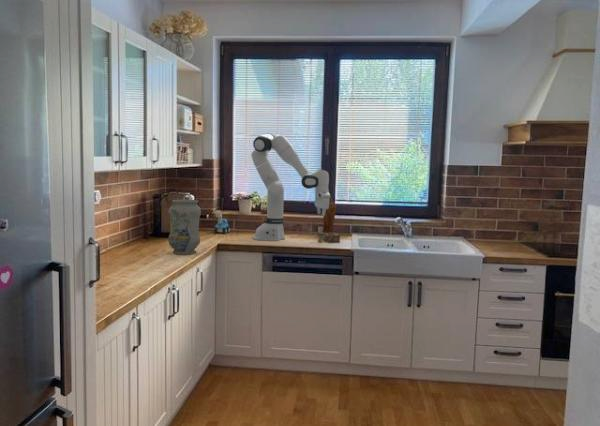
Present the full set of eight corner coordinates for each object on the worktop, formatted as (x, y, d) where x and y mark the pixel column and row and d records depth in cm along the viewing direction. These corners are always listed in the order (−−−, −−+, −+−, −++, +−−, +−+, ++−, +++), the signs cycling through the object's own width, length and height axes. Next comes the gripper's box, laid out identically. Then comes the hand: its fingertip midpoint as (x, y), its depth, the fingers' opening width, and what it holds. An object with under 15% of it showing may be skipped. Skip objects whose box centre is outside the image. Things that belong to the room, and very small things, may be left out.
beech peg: (318, 242, 331) (319, 227, 330) (317, 241, 334) (317, 226, 333) (323, 242, 332) (323, 227, 331) (321, 241, 335) (322, 226, 334)
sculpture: (316, 235, 360) (318, 194, 357) (327, 235, 364) (329, 194, 361) (324, 238, 348) (326, 195, 345) (336, 237, 352) (337, 195, 349)
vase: (174, 249, 291) (174, 198, 288) (204, 250, 289) (205, 199, 286) (163, 254, 273) (163, 200, 270) (195, 256, 271) (195, 201, 268)
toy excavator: (210, 234, 350) (210, 210, 348) (219, 231, 366) (219, 208, 364) (222, 235, 348) (222, 211, 346) (230, 232, 364) (230, 208, 362)
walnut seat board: (327, 242, 331) (327, 235, 331) (322, 240, 341) (322, 232, 340) (339, 242, 334) (340, 235, 333) (334, 239, 343) (335, 232, 343)
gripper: (312, 192, 339) (312, 212, 340) (321, 195, 319) (321, 216, 321) (321, 192, 340) (320, 212, 342) (331, 195, 321) (330, 216, 322)
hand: (321, 214), depth 331 cm, fingers open, 8 cm apart
